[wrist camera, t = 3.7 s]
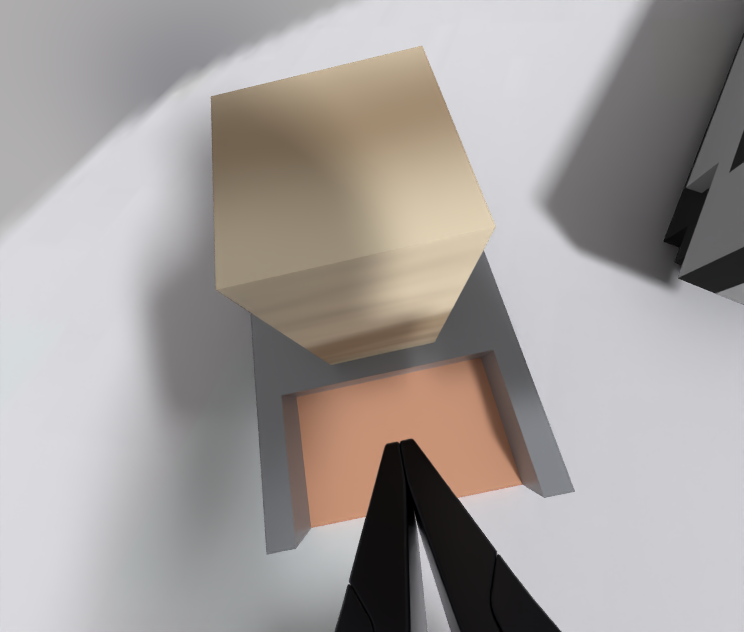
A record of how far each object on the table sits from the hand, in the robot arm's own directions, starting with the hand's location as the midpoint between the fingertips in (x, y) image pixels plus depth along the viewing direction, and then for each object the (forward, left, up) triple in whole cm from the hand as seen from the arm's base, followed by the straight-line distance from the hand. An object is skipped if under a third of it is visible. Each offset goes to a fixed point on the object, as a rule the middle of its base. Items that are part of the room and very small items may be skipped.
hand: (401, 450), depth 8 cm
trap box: (+7, -7, -7) cm, 12 cm away
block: (+4, -4, -4) cm, 7 cm away
